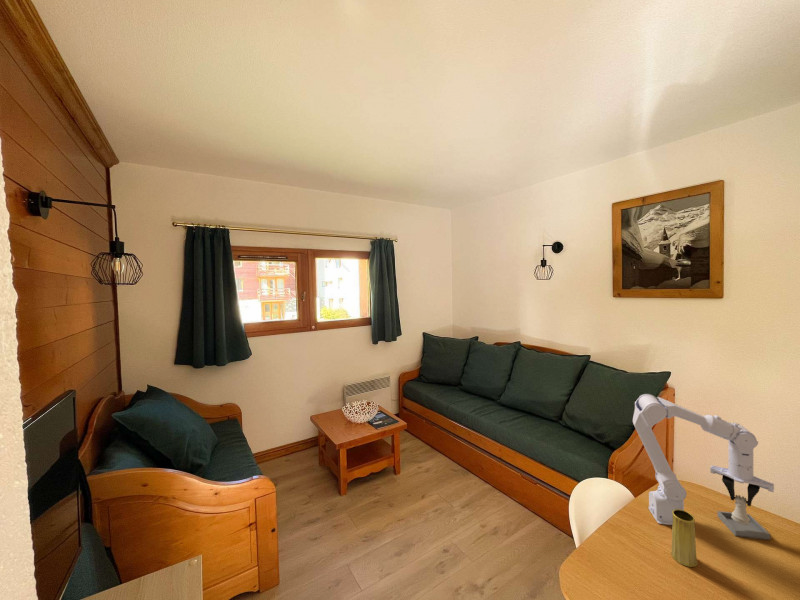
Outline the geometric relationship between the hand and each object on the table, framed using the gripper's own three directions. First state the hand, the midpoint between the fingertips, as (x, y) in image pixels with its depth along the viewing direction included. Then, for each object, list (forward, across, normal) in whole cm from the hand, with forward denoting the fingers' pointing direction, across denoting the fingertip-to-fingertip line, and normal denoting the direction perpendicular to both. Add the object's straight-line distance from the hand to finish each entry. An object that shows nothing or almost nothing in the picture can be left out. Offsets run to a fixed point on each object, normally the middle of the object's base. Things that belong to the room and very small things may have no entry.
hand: (740, 501), depth 109 cm
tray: (+10, 0, +2) cm, 10 cm away
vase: (+10, -9, -27) cm, 30 cm away
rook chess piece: (+7, 0, -1) cm, 7 cm away
